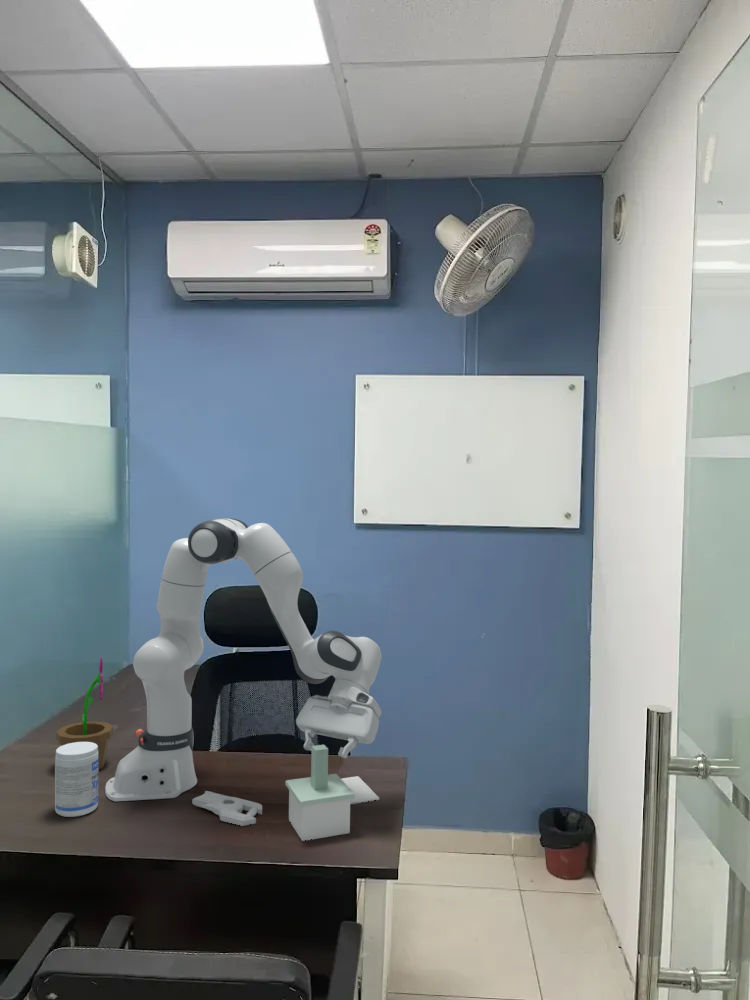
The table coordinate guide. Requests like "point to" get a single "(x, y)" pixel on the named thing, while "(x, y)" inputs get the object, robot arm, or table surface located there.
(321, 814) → the tub
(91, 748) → the supplement tub
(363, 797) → the mat
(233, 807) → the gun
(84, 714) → the flowerpot
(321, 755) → the lid
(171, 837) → the table surface
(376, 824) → the table surface
